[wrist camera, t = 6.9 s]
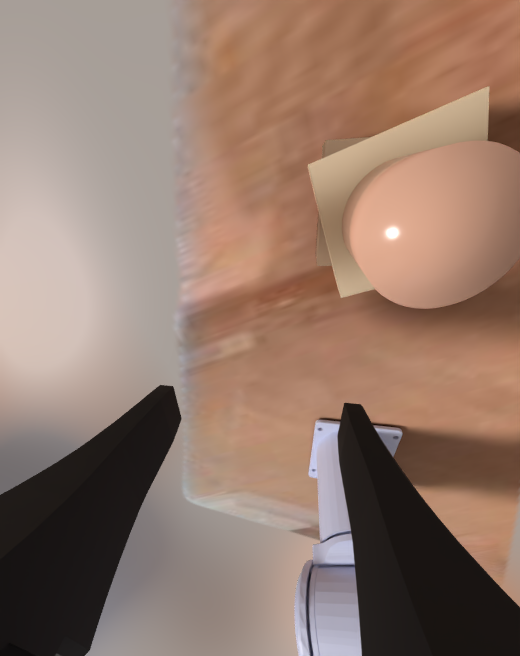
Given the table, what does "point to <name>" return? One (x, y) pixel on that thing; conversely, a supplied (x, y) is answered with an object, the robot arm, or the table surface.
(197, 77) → the table surface
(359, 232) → the tan cylinder
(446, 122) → the tower top
